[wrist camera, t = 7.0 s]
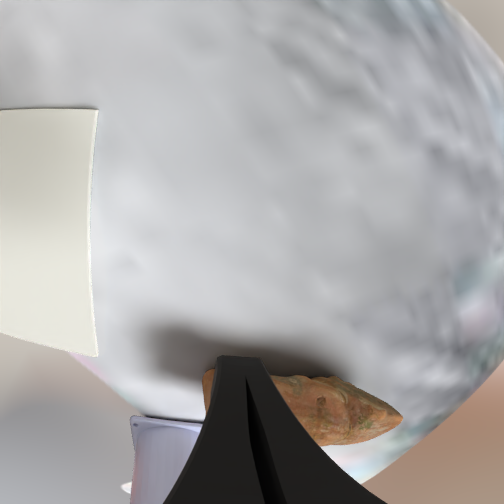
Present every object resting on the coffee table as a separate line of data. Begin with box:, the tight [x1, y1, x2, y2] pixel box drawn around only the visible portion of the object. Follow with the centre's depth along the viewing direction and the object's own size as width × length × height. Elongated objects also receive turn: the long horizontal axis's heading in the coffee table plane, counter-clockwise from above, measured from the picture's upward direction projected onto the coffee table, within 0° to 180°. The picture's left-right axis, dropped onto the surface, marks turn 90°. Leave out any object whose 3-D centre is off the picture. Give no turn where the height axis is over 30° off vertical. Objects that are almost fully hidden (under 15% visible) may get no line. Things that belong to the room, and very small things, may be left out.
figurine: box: [202, 369, 403, 446], centre depth 20 cm, size 8×8×15 cm
